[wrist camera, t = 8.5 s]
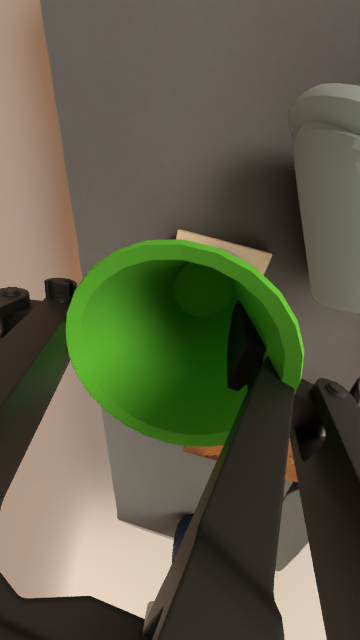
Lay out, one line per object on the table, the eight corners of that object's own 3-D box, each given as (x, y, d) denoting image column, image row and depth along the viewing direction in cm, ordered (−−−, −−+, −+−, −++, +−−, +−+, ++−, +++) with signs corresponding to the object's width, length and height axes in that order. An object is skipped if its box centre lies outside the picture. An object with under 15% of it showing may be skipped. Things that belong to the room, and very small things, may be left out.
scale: (164, 309, 35) (160, 314, 33) (180, 229, 29) (177, 229, 27) (237, 330, 34) (238, 337, 32) (269, 252, 28) (273, 254, 26)
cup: (151, 325, 20) (80, 420, 10) (154, 225, 16) (40, 224, 6) (244, 342, 19) (263, 470, 9) (272, 236, 15) (361, 259, 5)
